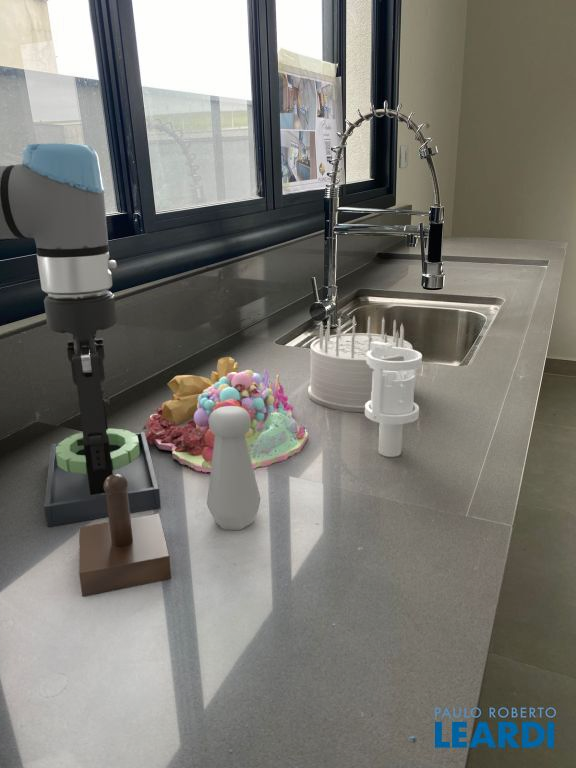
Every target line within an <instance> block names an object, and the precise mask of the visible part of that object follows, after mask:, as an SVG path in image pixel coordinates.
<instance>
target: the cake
mask: <svg viewBox="0 0 576 768" xmlns="http://www.w3.org/2000/svg"><path fill="white" fill-rule="evenodd" d="M385 321H386V320H385V317H384V316H382V320H381V334H380V333H371V317H370V315H368V318H367V332H366V333H363V332H356V317H355V315H353V317H352V332H351V333H342V319H341V316H339V319H338V326H337V327H336V334H332V335H331V321H330V319H329V318H328V319H327V322H326V323H327V324H326V325H327V328H326V329H325V331H324V324H323V321H321V323H320V327H319V338H317V339H315V340H313V341H312V342H311V343H310V350H309V351H310V369H309V370H310V372H309V373H310V377H309V378H310V384H309V385H308V387H307V396H308V398H309V399H310V400H311V401H312V402H314V403H315V404H317V405H319V406H322V407H325V408H329V409H332V410H336V411H343V412H349V413H350V412H352V413H365V404H366V403H367V402H368V401H370V400H371V392H372V374H373V372H374V369H372V368H369V367H370V366H369V365H368V364H367V363H366V358H367V352H368V351H370V342H373V341H379V342H383V343H390V344H392V347H400V348H408V349H412V350H414V348H413V347H414V346H413V345H412V344H411V343H410V342H409V341H407V340H405V328H404V325H403V324H404V323H403V322H401V325H400V329H399V330H397V322H396V321H397V320H396V319H394V320H393V329H392V335H388V334H387V332H386V333H385V323H386V322H385ZM381 360H386V361H404V357H401V356H399V355H398V354H397V355H396V356H381Z"/></svg>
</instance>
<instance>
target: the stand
mask: <svg viewBox="0 0 576 768" xmlns="http://www.w3.org/2000/svg"><path fill="white" fill-rule="evenodd" d="M127 488H128V482H127V480H126V478H125V477H124V476H122V475H120V474H112V475H110V476H109V477H107V478H106V480H105V482H104V491H105V494H106V502H107V510H108V517H107V519H108V522H101V523H95V524H90V525H85V526H79V527H78V533H79V534H78V576H79V584H80V590H81V597H86V596H92V595H98V594H100V593H107V592H111V591H117V590H121V589H127V588H130V587H131V588H132V587H137V586H142V585H145V584H150V583H151V584H152V583H156V582H160V581H165V580H170V579H172V570H171V559H170V553H169V549H168V548H169V547H168V544H167V540H166V537H165V532H164V528H163V524H162V523H163V522H162V520H161V515H160V513H154V514H148V515H142V516H136V517H131V513H130V508H129V500H128V491H127Z"/></svg>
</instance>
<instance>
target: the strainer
mask: <svg viewBox="0 0 576 768" xmlns="http://www.w3.org/2000/svg"><path fill="white" fill-rule="evenodd" d="M397 354H398V355H399V356H401V357H404V361H386V360H381V356H396V355H397ZM366 363H367V364H368V365H369V366H370V367H369V368H372V369H374V372H373V374H372V392H371V400H370V401H368V402H367V403H366V404H365V412H364V416H365V417H366V418H367V419H369V420H370V421H372V422H375V423H377V424H379V427H378V450H377V452H378V453H379V455H381V456H382V457H383V456H384V457H386V458H387V457H389V458H395V457H398V456H400V455H402V441H403V425H405V424H410V423H413V422H415V421H416V420H417V419H419V414H420V413H419V412H420V406H419V405H418V404H417V403H416V402H414V397H415V382H416V381H415V380H416V369H418V368H421V366H422V364H423V354H422V353H421V352H420V351H418V350H416V349H413V350H412V349H408V348H400V347H392V344H390V343H383V342H379V341H373V342H370V351H368V352H367V358H366Z"/></svg>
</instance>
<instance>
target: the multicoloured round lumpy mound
mask: <svg viewBox="0 0 576 768" xmlns="http://www.w3.org/2000/svg"><path fill="white" fill-rule="evenodd" d="M216 369H217V371H213V370H212V371H211V374H210V375H211V376H210V378H207V377H204V376H198V375H190V374H183V375H175V376H174V377H173V378H172V379H171V380H170V381H169V382H168V383H166V384H167V386H168V387H169V388H170V390H171V391H172V392H173V394H172V396H171V399H168V400H166V401H164V402H162V403H161V405H159V406H157V407H156V409H155V412H156V413H154V414H150V416H149V420H147V421H146V423H145V424H144V426H143V427H142V428H141V430H142V431H144V430H147V431H146V432H145V435H146V439H147V443H148V444H150V445H154V444H155V446H156V447H157V448H158V449H159V450H164V451H171V455H172V460H173V459H174V460H176V461H178V462H179V464H181V465H184V466H187V467H189V468H190V467H191V468H190V469H194V471H197V472H201V471H202V472H203V473H207V472H211V465H212V457H213V449H214V441H215V435H213V434H212V432H211V431H210V428H209V416H210V415H211V413H212V412H213V411H214V410H216V409H217V408H220V407H225V406H237V407H241V408H244V409H245V410H246V411H247V412H248V413H249V414H250V419H251V426H250V429H249V432H247V433H246V434H244V435H245V439H246V443H247V446H248V450H249V454H250V458H251V462H252V466H253V470H255V469H257V468H259V467H268V466H271V465H272V464H275V463H278V462H283V461H287V460H288V458H289V457H292V456H294V455H295V454H298V453H300V452H301V450H302V449H303V448H304V446H305V444H306V442H307V441H308V439H309V433H308V432H307V429H306V426H305V424H303V423H301V424H300V425H299V424H298V422H297V420H296V419H294V417H293V414H292V413H293V410H294V407H293V406H292V405H291V404H289V403H288V402H287V401H289V396H288V395H285V391H284V387H283V385H282V384H281V382H280V375H279V374H277V375H276V378H275V379H273V381H271V380H269V379H270V373H269V372H268V370H267V369H266V367H265V368H264V370H263V375H262V376H261V374H260V372H259V368H258V367H257V369H256V372H253V371H252V370H251V369H245V370H243V371H241V372H238V371H239V363H238V361H236V360H235V359H234V358H232V357H231V356H225V357H220V358H219V359H218V360H217V363H216ZM202 472H201V473H202Z"/></svg>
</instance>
